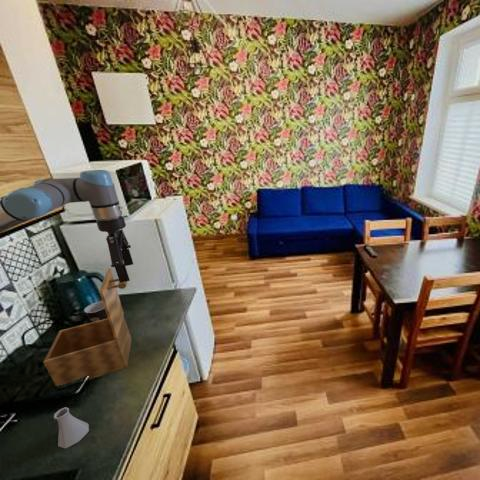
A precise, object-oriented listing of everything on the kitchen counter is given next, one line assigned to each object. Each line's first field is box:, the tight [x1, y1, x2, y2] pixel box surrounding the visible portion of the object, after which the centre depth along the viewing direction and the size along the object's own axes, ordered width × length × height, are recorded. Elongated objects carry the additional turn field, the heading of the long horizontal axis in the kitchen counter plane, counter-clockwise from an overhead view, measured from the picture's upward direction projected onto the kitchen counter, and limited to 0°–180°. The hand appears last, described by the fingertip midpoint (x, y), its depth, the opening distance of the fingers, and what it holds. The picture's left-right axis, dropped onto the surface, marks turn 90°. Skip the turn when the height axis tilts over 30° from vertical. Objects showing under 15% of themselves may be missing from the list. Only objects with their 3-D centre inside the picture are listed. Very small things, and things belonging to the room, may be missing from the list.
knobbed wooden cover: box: [98, 268, 128, 340], centre depth 100 cm, size 21×17×6 cm
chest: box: [42, 315, 132, 387], centre depth 101 cm, size 20×17×13 cm
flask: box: [53, 406, 90, 449], centre depth 77 cm, size 7×7×10 cm
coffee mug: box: [83, 300, 108, 323], centre depth 121 cm, size 12×9×10 cm
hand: (127, 272), depth 97 cm, fingers open, 13 cm apart
